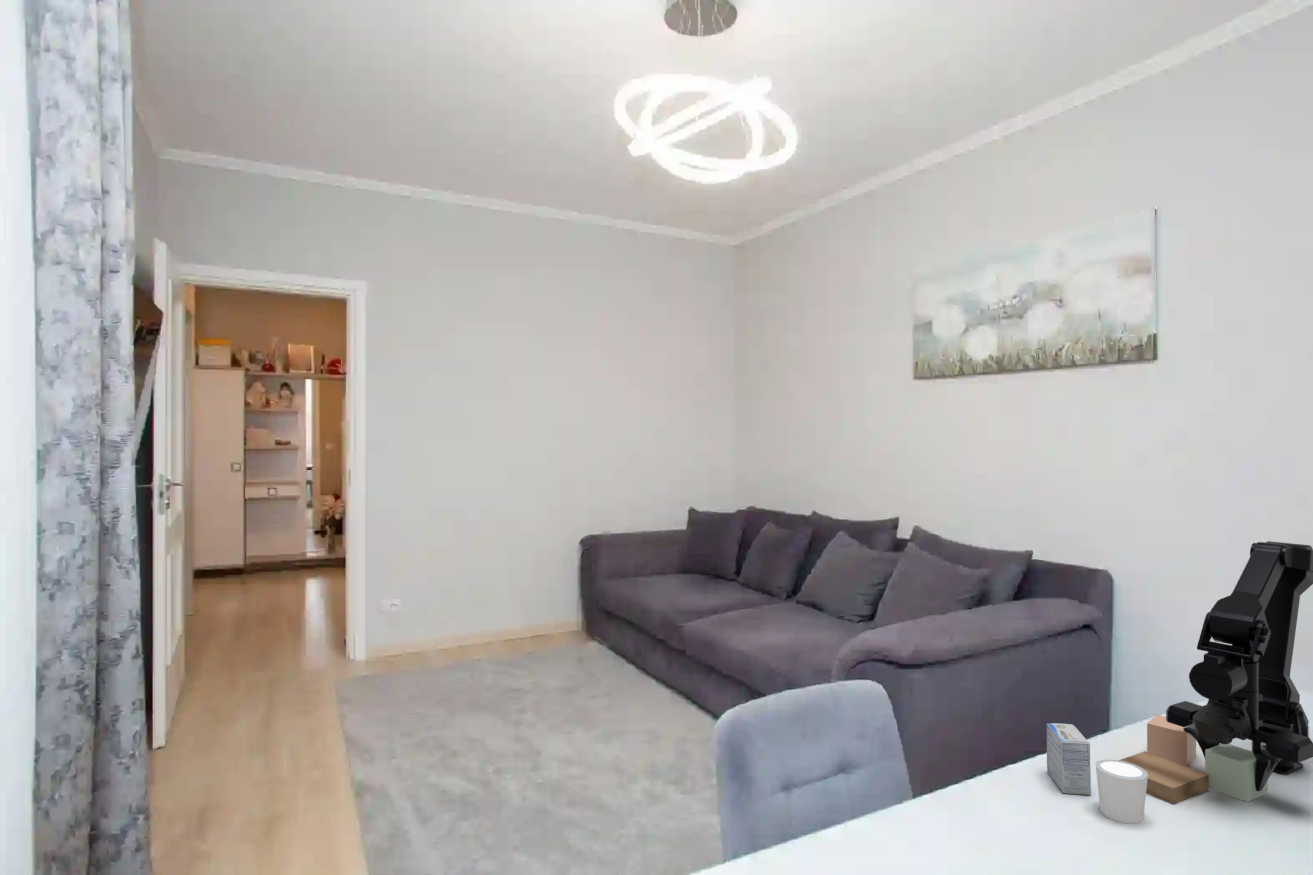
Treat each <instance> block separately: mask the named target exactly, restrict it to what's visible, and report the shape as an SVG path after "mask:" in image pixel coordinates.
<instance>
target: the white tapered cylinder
mask: <svg viewBox="0 0 1313 875" xmlns="http://www.w3.org/2000/svg"><path fill="white" fill-rule="evenodd" d="M1095 771H1096V781H1097V782H1096V783H1097V789H1098V790H1097V791H1098V800H1099V802H1098V803H1099V810H1100V813H1102V815H1103V816H1105V817H1107V818H1108V819H1110V820H1113V821H1115V822H1119V823H1124V824H1129V825H1130V824H1132V825H1134V824H1136V825H1137V824H1140V823H1142V822H1143V821H1144V816H1145V806H1146V796H1147V793H1146V789H1147V780H1148V774H1147V772H1146V771H1145V770H1144V769H1143V768H1141V767H1139V766H1136V765H1134V764H1131V763H1128V762H1124V761H1118V759H1101V760H1098V761H1097V762H1095Z"/></svg>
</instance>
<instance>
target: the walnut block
mask: <svg viewBox="0 0 1313 875" xmlns="http://www.w3.org/2000/svg"><path fill="white" fill-rule="evenodd" d="M1117 760H1118V759H1117ZM1118 761H1124V762H1128V763H1131V764H1134V765H1136V766H1139V767H1141V768H1143V769H1144V770H1145V771H1146V772H1147V774H1148V780H1147V789H1146V795H1150V796H1152V797H1155V798H1157V799H1159V800H1162V801H1164V802H1167V803H1169V804H1172V805H1175V804H1177V803H1180V802H1182V801H1185V800H1187V799H1189V798H1192V797H1194V796H1197V795H1199V794H1202V793H1204V792H1207V791H1209V790H1210V788H1209V775H1208V774H1206V773H1205V772H1203V771H1200V770H1197V769H1194V768H1192V767H1189V766H1188V767H1187V766H1184V765H1181V764H1178V763H1176V762H1173V761H1170V760H1167V759H1165V758H1162V757H1159V756H1157V755H1154V754H1151V753H1148V752H1147V750H1146V751H1142V752H1139V753H1136V754H1132V755H1131V756H1127V757H1125V758H1121V759H1119V760H1118Z"/></svg>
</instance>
